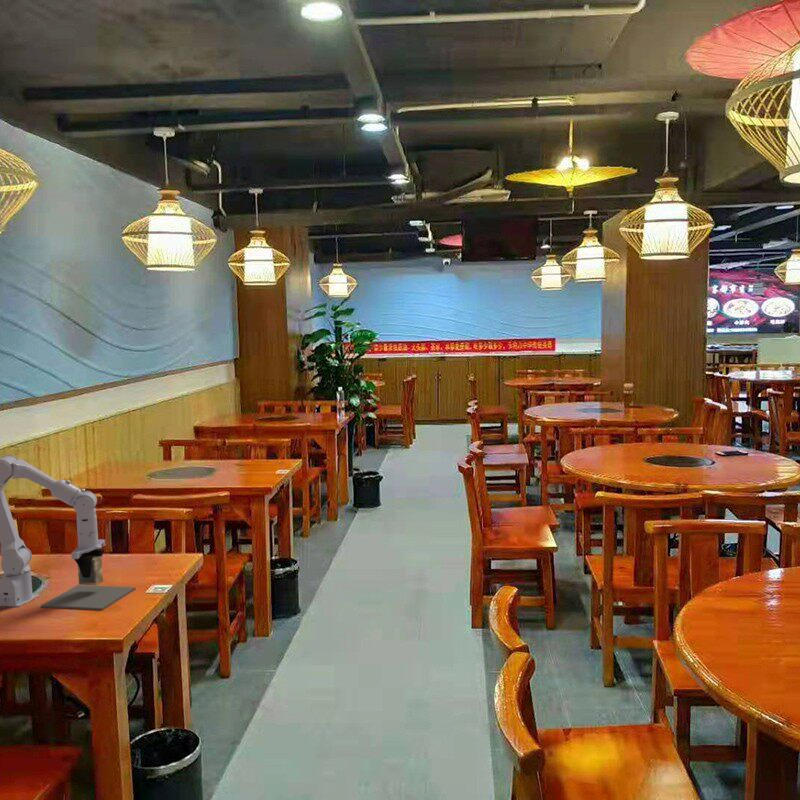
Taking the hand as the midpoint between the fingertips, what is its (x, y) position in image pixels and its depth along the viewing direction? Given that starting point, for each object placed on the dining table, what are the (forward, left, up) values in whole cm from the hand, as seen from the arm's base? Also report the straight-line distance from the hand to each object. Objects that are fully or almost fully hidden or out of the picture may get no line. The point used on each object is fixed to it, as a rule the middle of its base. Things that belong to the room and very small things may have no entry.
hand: (90, 575), depth 233 cm
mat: (-4, -2, -6) cm, 7 cm away
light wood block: (0, 0, -3) cm, 3 cm away
